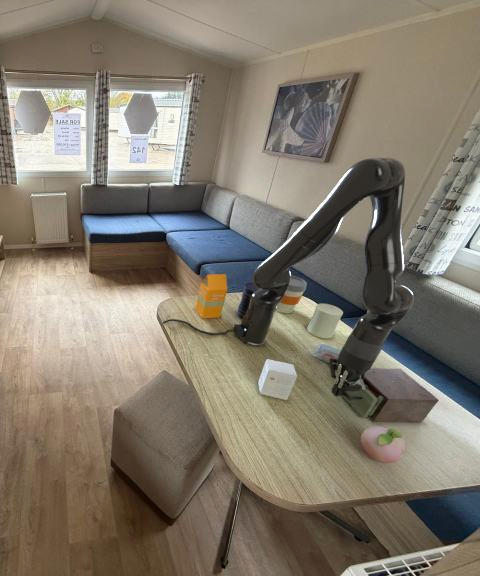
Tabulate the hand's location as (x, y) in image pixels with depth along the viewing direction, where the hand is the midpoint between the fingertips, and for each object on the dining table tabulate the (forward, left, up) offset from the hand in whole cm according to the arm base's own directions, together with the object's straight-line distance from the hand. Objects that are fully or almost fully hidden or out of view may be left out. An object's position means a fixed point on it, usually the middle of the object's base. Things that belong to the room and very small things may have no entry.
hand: (335, 394), depth 95 cm
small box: (-16, +5, -5) cm, 17 cm away
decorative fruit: (0, -17, -5) cm, 18 cm away
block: (+10, 0, -2) cm, 10 cm away
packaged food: (+14, +20, -5) cm, 25 cm away
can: (+22, +39, -5) cm, 45 cm away
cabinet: (+16, 0, -5) cm, 17 cm away
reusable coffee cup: (+16, +58, -5) cm, 60 cm away
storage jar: (-4, +50, -5) cm, 51 cm away
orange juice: (-22, +52, -5) cm, 57 cm away
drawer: (+10, 0, -4) cm, 11 cm away
